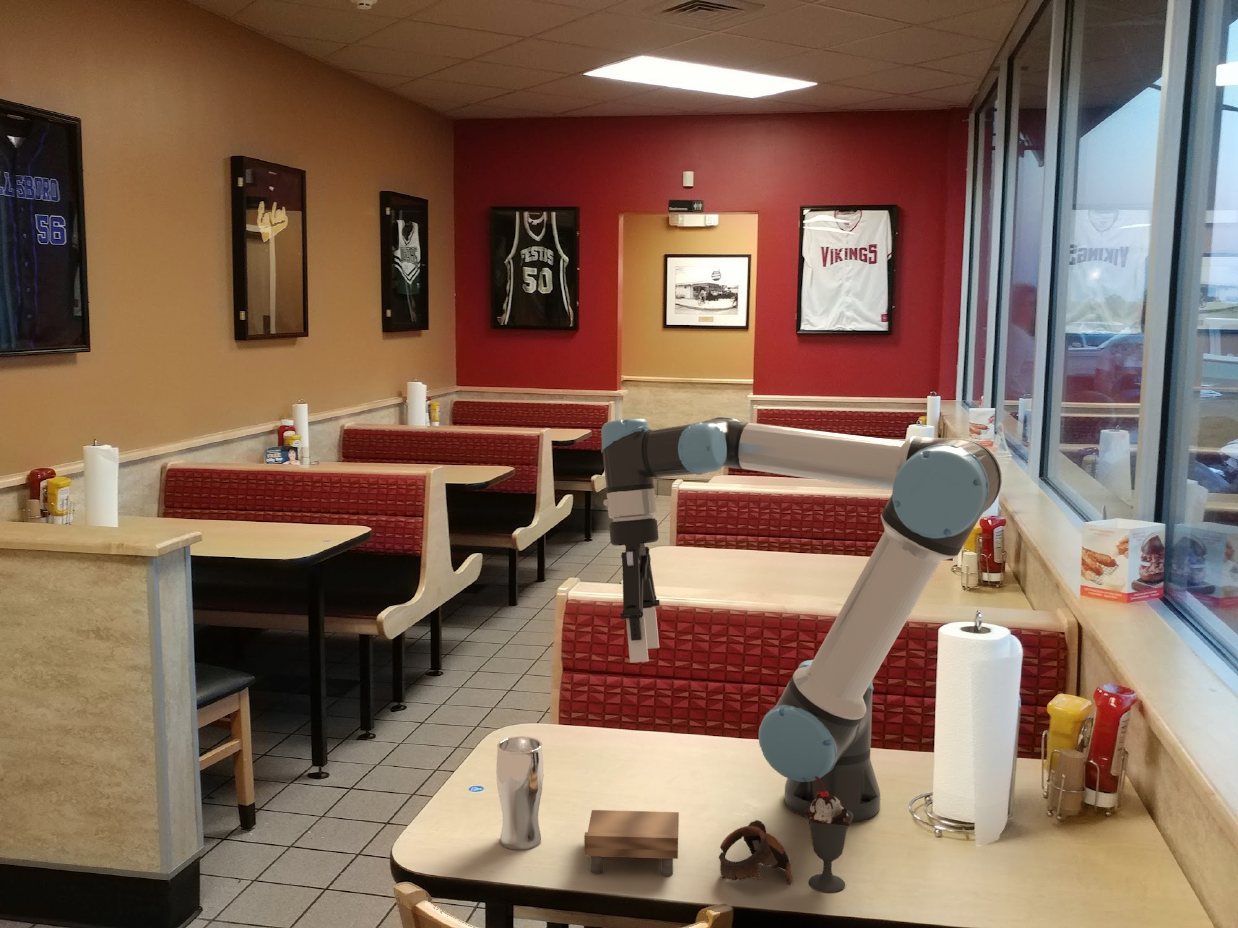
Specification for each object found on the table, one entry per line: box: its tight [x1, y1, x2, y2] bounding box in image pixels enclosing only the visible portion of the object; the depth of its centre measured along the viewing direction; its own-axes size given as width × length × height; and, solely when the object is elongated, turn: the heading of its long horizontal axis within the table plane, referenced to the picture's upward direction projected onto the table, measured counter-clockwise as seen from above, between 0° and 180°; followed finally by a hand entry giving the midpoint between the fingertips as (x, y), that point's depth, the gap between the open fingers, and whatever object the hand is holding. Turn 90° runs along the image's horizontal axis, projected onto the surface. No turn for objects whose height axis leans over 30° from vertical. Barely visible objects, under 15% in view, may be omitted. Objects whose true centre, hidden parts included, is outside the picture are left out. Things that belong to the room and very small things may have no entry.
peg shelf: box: [583, 809, 680, 877], centre depth 160 cm, size 13×12×6 cm
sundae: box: [803, 776, 853, 894], centre depth 152 cm, size 7×7×15 cm
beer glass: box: [495, 736, 544, 851], centre depth 164 cm, size 7×7×15 cm
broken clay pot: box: [718, 819, 794, 886], centre depth 155 cm, size 12×10×8 cm
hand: (645, 654), depth 172 cm, fingers open, 13 cm apart
